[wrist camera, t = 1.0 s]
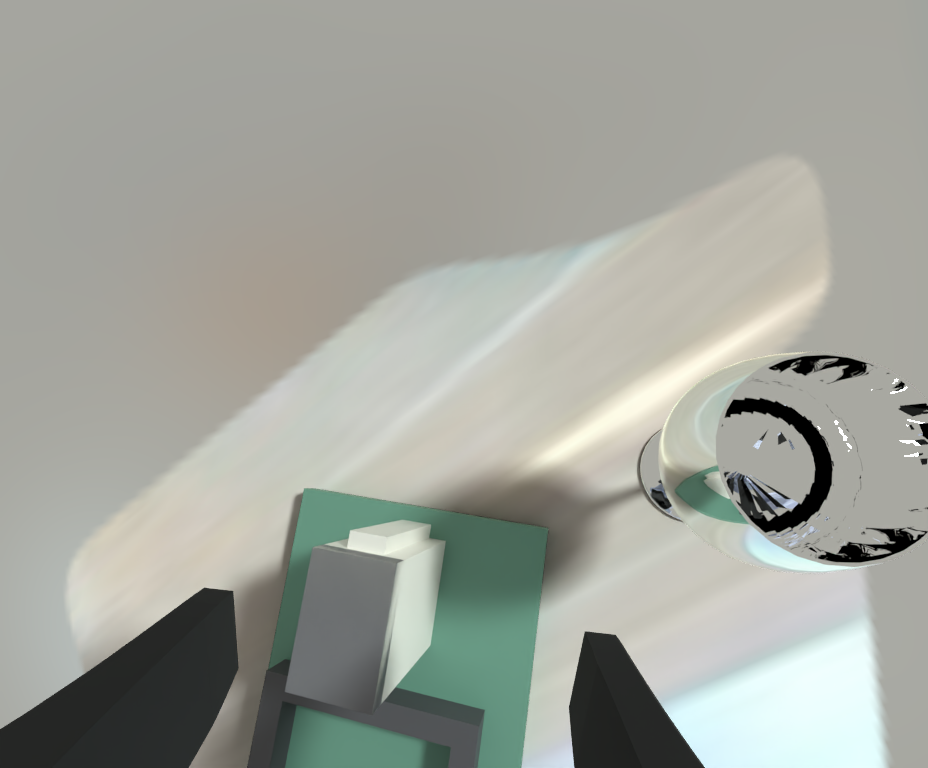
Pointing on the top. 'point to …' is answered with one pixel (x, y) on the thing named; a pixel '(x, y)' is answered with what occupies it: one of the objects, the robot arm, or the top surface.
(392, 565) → the plug
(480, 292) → the top surface
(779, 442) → the wineglass
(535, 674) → the top surface
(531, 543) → the circuit board
